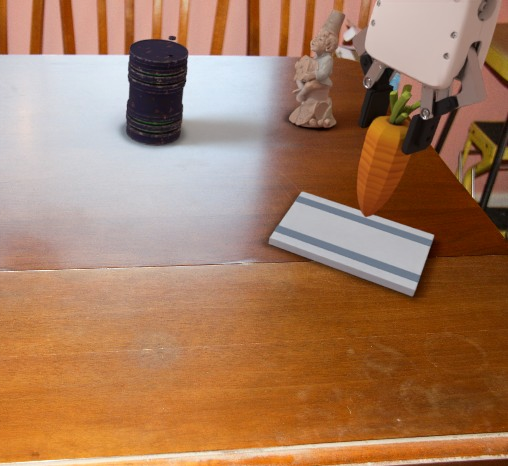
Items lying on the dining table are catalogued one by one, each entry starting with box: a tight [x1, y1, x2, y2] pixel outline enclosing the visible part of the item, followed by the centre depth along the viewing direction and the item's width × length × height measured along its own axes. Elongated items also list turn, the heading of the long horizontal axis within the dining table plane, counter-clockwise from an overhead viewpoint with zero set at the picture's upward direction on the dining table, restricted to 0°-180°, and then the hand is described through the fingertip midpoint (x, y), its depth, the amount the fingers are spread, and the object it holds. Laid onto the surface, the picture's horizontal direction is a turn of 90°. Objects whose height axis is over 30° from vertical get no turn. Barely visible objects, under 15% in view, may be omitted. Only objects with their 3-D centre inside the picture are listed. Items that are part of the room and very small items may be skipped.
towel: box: [268, 191, 435, 297], centre depth 92 cm, size 20×14×1 cm
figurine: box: [288, 9, 346, 128], centre depth 116 cm, size 9×8×20 cm
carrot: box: [356, 84, 421, 217], centre depth 66 cm, size 5×5×15 cm
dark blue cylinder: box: [125, 35, 189, 146], centre depth 110 cm, size 10×10×18 cm
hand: (391, 135), depth 64 cm, fingers closed on carrot, 4 cm apart
